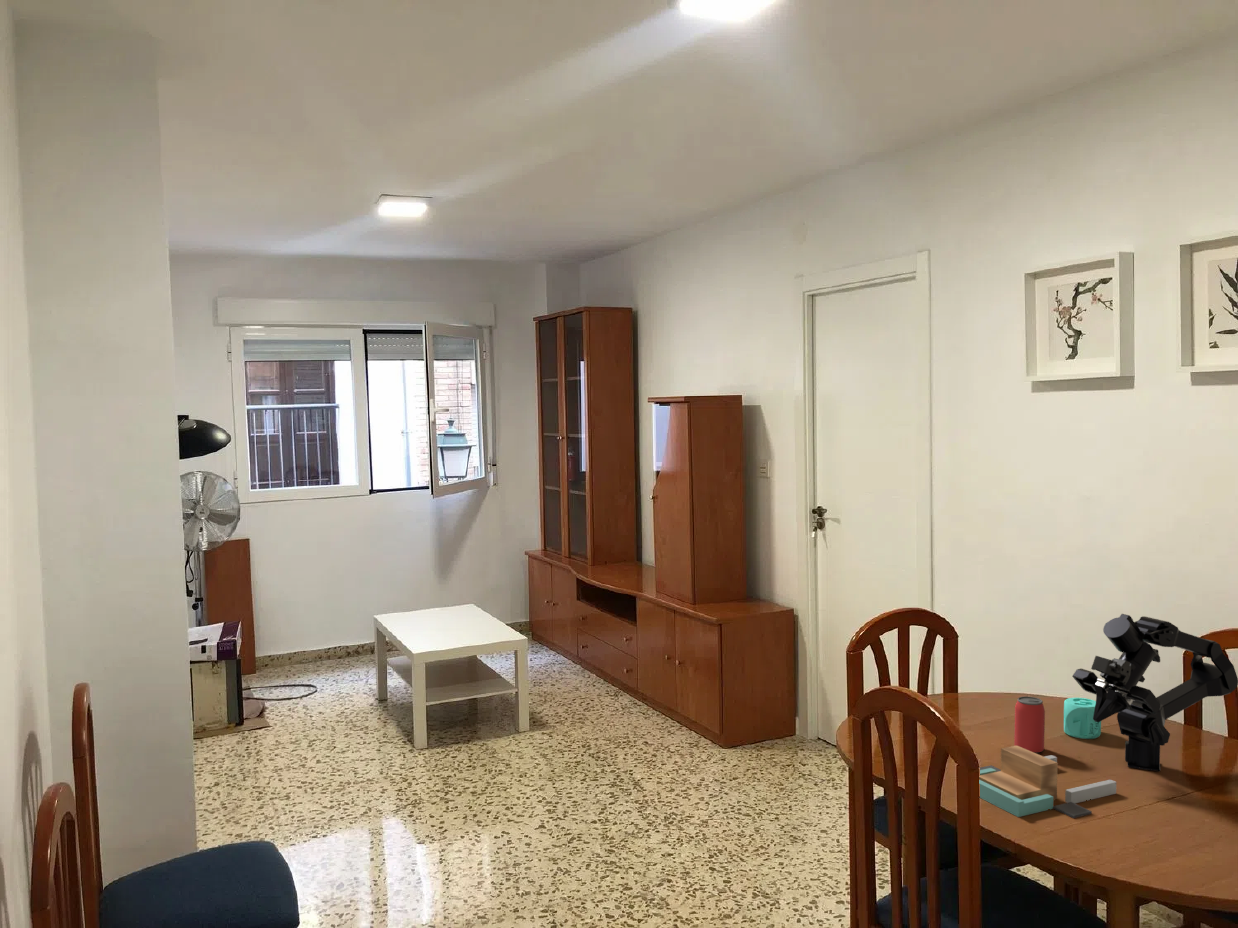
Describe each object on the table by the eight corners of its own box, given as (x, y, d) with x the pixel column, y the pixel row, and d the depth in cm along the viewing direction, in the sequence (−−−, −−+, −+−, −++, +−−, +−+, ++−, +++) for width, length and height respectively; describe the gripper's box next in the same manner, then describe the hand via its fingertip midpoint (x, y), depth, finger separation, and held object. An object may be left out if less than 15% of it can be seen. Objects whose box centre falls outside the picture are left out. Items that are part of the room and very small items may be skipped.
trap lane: (1034, 758, 226) (1034, 745, 225) (1137, 802, 201) (1137, 788, 201) (941, 777, 215) (941, 764, 214) (1037, 826, 190) (1038, 811, 190)
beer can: (1047, 754, 228) (1048, 704, 227) (1017, 753, 229) (1018, 703, 228) (1040, 745, 234) (1041, 696, 233) (1011, 743, 235) (1012, 694, 234)
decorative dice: (1064, 736, 240) (1065, 705, 239) (1063, 726, 247) (1064, 695, 246) (1100, 740, 236) (1101, 708, 236) (1098, 730, 244) (1099, 699, 243)
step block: (1016, 780, 213) (1016, 745, 212) (1056, 799, 203) (1057, 762, 202) (977, 789, 208) (977, 753, 208) (1016, 809, 198) (1017, 771, 198)
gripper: (1079, 633, 223) (1042, 687, 219) (1152, 653, 206) (1114, 712, 202) (1102, 662, 227) (1067, 715, 223) (1177, 684, 210) (1139, 742, 206)
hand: (1095, 720), depth 214 cm, fingers closed
